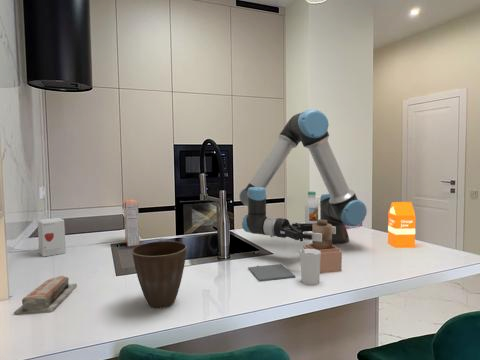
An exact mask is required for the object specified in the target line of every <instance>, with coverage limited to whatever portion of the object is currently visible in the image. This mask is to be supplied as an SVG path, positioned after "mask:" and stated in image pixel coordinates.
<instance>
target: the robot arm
mask: <svg viewBox="0 0 480 360" xmlns="http://www.w3.org/2000/svg"><path fill="white" fill-rule="evenodd" d="M329 125H330V124H329V120H328V118H327V116H326V115H325V113H324V112H322V111H320V110H317V109H307V110H304V111H301V112H300V113H296V114H294V115H293V116H291V118H289V120H288V121H287V122H286V124H285V126H284V127H283V129H282V130H281V132H280V133H279V135H278V140H277V142H276V143H275V144H274V146H273V148H272V149H271V150H270V152H269V154H268V155H267V156H266V158H265V159H264V160H263V162H262V163H261V165H260V167H258V169H257V171H256V173H254V175H253V177H252V178H251V179H250V181H249V182H248V184H247V186H246V187H245V188H243V189H242V190H241V191H240V193H239V194H238V195H239V196H238V198H239V201H240V202H241V203H242V204H243V205H244V206H246V207H247V214H246V215H244V217H243V218H242V221H241V225H242V229H243V231H244V232H246V233H251V234H254V235H255V234H256V235H263V236H269V237H270V238H273V237H277V238H283V239H286V238H288V239H292V240H295V241H299V242H304V240H306V241H311V242H312V241H318V242H322V234H320V233H312V224H311V223H304V222H293V223H290V221H289V220H288V219H287V218H282V217H275V216H267V192H266V188H267V187H268V185H269V184H270V183H271V180H273V178H274V177H275V175H276V173H277V172H278V170H279V169H280V167H282V164H283V163H284V162H285V160H286V159H287V158H288V155H289V154H290V153H291V151H292V149H295V148H297V146H298V145H299V144H300V143H301V144H302V146H303V148H305V149H308V150H309V152H310V155H311V157H312V159H313V161H314V164H315V166H316V168H317V170H318V172H319V174H320V177H321V178H322V179H321V180H322V181H323V183H324V185H325V187H326V190H327V192H328V193H326V194H325V193H324V194H321V196H320V200H319V204H320V205H319V206H320V207H319V211H320V212H319V213H320V215H319V216H320V219H319V220H327V223H328V224H331V225H332V245H344V244H348V243H349V240H350V238H349V233H348V229H346V227H345V225H347V226H357V225H359V224H361V223H362V224H363V222H364V221H365V219H366V216H367V213H368V211H367V206H366V204H365V203H364V202H363V201H361V200H360V199H358V197H357V195H356V193H355V191H354V190H352V189H350V188H349V185H348V183H347V181H346V179H345V177H344V174H343V171H342V170H341V168H340V165H339V163H338V161H337V158H336V157H335V154H334V152H333V150H332V147H331V145H330V143H329V141H328V140H329V138H330V133H329V131H328V129H329Z"/></svg>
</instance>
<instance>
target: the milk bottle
mask: <svg viewBox="0 0 480 360" xmlns="http://www.w3.org/2000/svg"><path fill="white" fill-rule="evenodd" d="M316 195H317V194H316V191H313V190H312V191H310V190H309V191H307V200H306V202H305V207H304V210H305V211H304V213H305V214H304V216H305V217H304V219H305V220H304V222H305V223H311V224H314V223H317V220H319V204H318V201H317V199H316Z"/></svg>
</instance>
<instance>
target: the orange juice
mask: <svg viewBox="0 0 480 360" xmlns="http://www.w3.org/2000/svg"><path fill="white" fill-rule="evenodd" d="M387 215H388V222H387V223H388V224H387V244H389V245H390V246H392V247H393V248H395V249H398V248H399V249H403V248H405V249H406V248H409V249H410V248H412V249H413V248H414V249H415V248H416V213H415V209H414V206H413V203H412V201H393V202H391V204H390V207H389V210H388V214H387Z"/></svg>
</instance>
